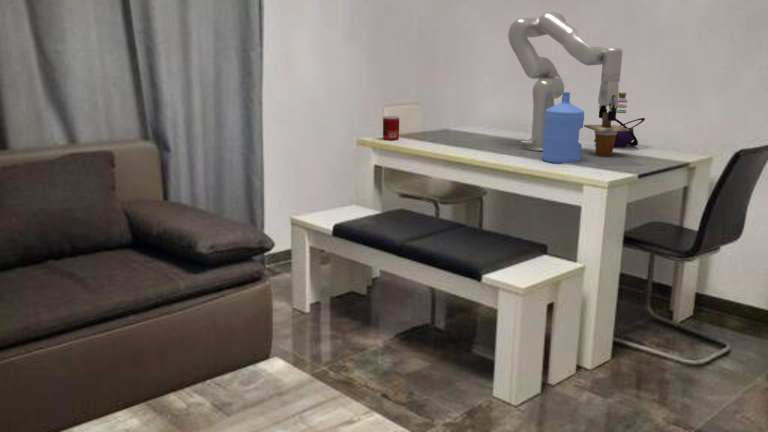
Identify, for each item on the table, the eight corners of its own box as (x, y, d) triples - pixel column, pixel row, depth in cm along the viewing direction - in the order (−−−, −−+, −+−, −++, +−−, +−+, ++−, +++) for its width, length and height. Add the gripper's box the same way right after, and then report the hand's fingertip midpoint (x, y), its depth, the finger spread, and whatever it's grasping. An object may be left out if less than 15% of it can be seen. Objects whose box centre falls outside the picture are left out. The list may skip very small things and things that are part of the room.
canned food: (401, 139, 354) (402, 116, 351) (393, 141, 347) (393, 118, 344) (388, 137, 358) (388, 115, 355) (379, 139, 351) (380, 117, 348)
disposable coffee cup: (611, 159, 305) (614, 131, 302) (589, 157, 310) (591, 129, 307) (617, 156, 313) (620, 128, 310) (595, 154, 318) (598, 126, 315)
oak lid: (596, 131, 301) (597, 114, 299) (584, 126, 314) (585, 111, 313) (628, 131, 302) (630, 114, 301) (615, 126, 316) (616, 111, 314)
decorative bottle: (652, 149, 332) (657, 94, 326) (612, 151, 326) (617, 95, 319) (622, 142, 353) (627, 90, 346) (584, 143, 346) (589, 90, 340)
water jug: (557, 165, 290) (562, 94, 283) (534, 158, 304) (538, 91, 297) (588, 162, 296) (594, 93, 289) (564, 156, 310) (569, 90, 303)
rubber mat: (600, 168, 285) (600, 165, 285) (585, 161, 300) (585, 158, 300) (644, 167, 287) (644, 165, 287) (626, 160, 302) (627, 158, 302)
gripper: (594, 76, 311) (590, 116, 315) (610, 79, 294) (606, 121, 298) (610, 76, 312) (607, 116, 316) (628, 79, 295) (624, 121, 299)
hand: (606, 119), depth 307 cm, fingers open, 9 cm apart
